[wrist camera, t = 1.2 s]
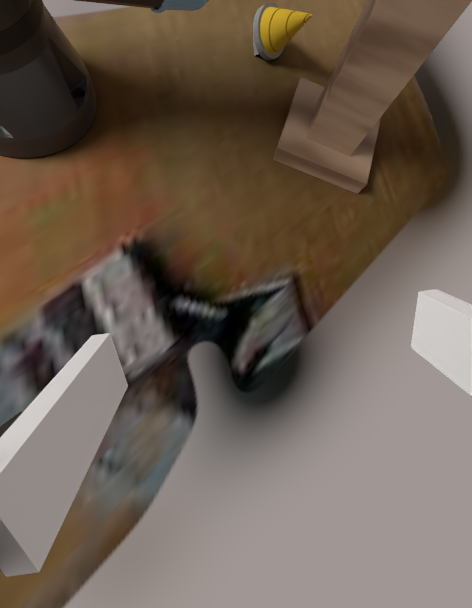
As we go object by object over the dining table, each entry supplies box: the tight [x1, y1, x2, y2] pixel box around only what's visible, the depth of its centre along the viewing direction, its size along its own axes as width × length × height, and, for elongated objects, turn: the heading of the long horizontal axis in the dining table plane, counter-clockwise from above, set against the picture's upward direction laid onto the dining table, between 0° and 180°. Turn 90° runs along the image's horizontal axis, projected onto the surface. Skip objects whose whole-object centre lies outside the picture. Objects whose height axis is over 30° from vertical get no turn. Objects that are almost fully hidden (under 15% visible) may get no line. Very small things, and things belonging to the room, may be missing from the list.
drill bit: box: [253, 3, 312, 60], centre depth 35 cm, size 5×5×10 cm
